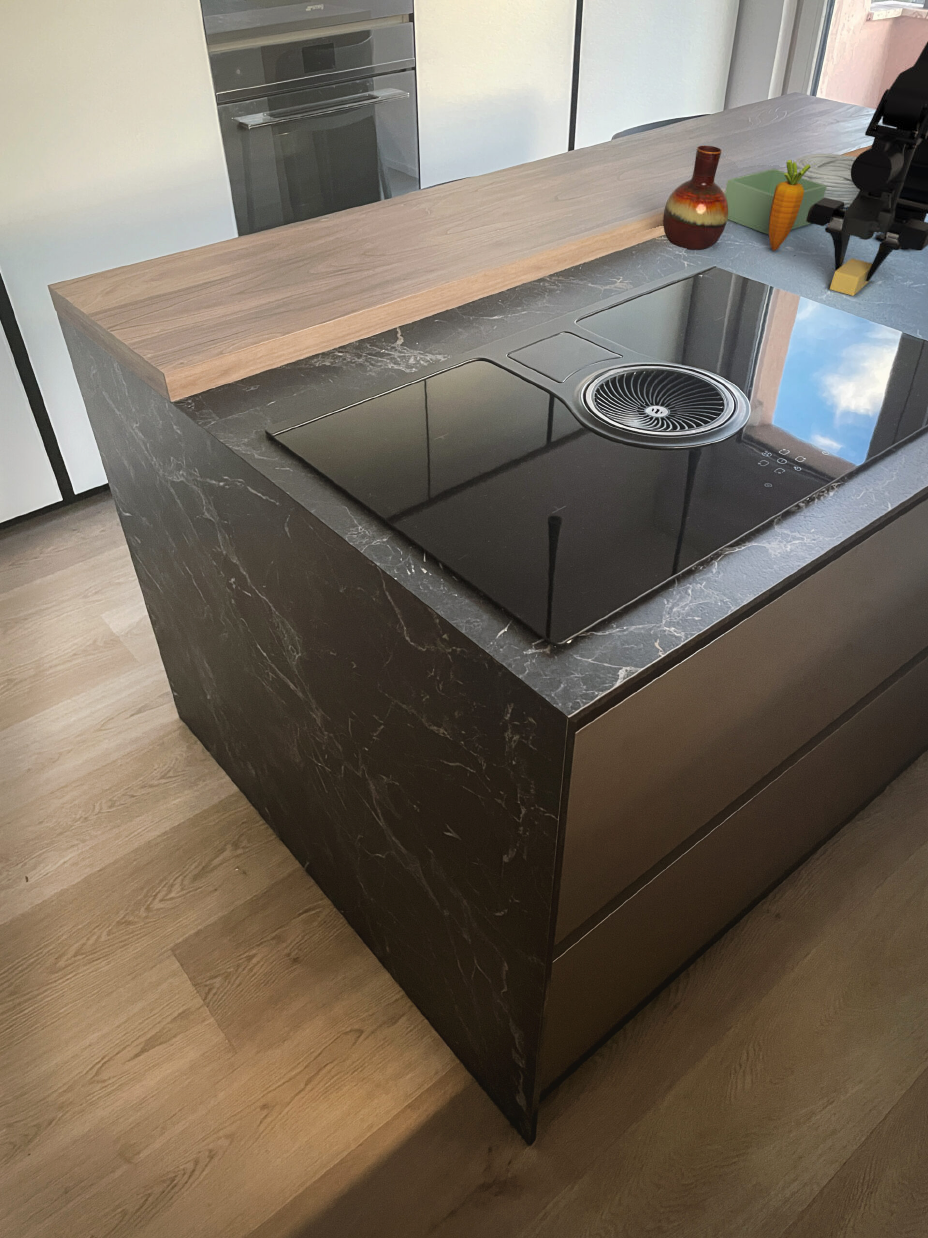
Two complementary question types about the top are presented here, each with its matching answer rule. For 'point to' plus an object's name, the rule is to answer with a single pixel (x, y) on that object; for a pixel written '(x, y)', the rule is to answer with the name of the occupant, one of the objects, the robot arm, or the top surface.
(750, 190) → the storage bin
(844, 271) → the butter block
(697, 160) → the vase
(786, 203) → the carrot
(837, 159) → the cable
